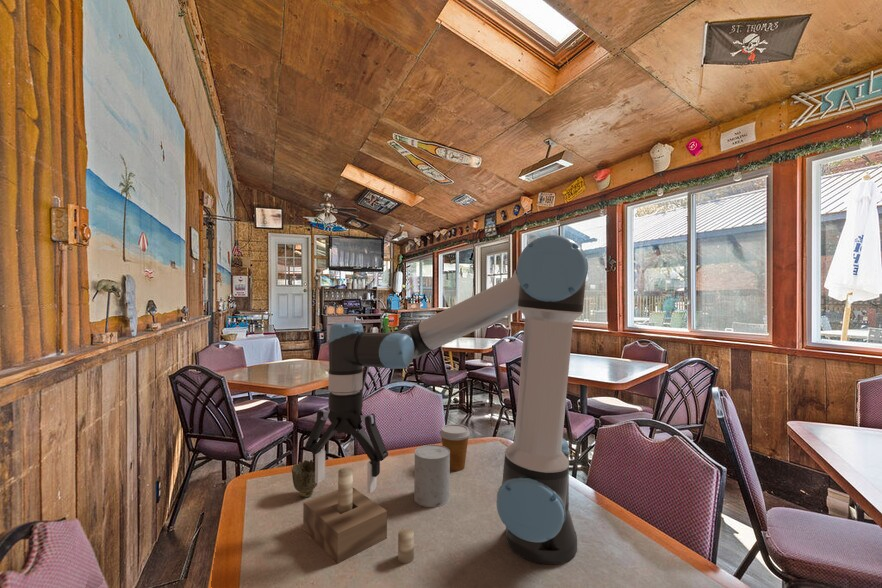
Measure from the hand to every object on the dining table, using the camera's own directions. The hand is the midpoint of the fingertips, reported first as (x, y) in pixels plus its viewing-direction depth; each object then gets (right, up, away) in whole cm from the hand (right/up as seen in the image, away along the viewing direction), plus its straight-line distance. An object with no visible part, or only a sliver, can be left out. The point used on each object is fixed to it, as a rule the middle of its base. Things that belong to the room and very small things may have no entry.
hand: (345, 485), depth 87 cm
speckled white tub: (+19, -11, +16) cm, 27 cm away
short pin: (+14, -11, -8) cm, 20 cm away
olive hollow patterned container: (-15, -11, +16) cm, 25 cm away
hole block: (0, -11, 0) cm, 11 cm away
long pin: (0, -11, 0) cm, 11 cm away
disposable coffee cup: (+26, -12, +35) cm, 45 cm away
